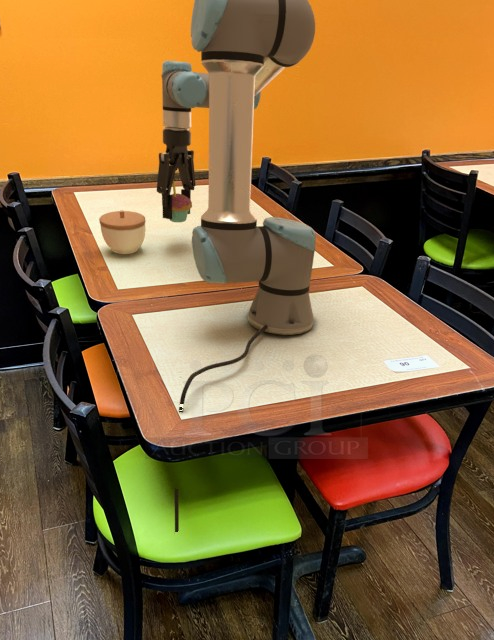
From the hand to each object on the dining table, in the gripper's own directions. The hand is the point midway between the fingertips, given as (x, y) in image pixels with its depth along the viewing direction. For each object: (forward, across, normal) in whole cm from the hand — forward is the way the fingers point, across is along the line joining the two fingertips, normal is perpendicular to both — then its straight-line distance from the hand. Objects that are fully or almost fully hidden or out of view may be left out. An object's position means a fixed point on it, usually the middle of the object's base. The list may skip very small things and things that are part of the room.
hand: (176, 215), depth 163 cm
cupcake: (+1, 0, 0) cm, 1 cm away
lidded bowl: (+10, +10, -11) cm, 18 cm away
